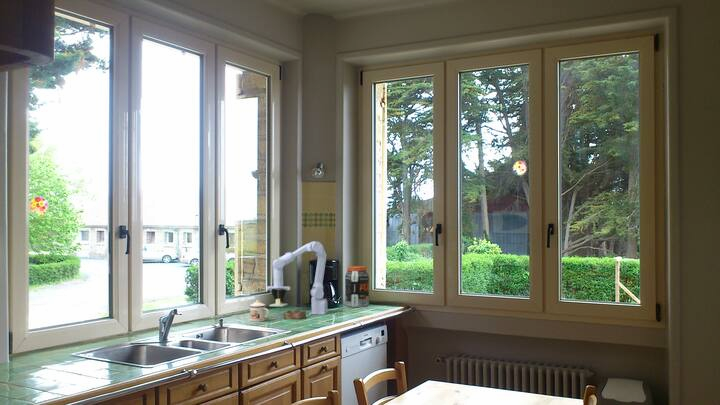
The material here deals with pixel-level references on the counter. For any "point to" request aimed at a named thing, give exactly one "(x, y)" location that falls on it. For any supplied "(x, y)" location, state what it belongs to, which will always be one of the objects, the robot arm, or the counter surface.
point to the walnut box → (295, 314)
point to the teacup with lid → (258, 312)
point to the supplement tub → (357, 287)
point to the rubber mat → (277, 315)
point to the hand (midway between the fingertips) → (278, 301)
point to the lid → (278, 303)
